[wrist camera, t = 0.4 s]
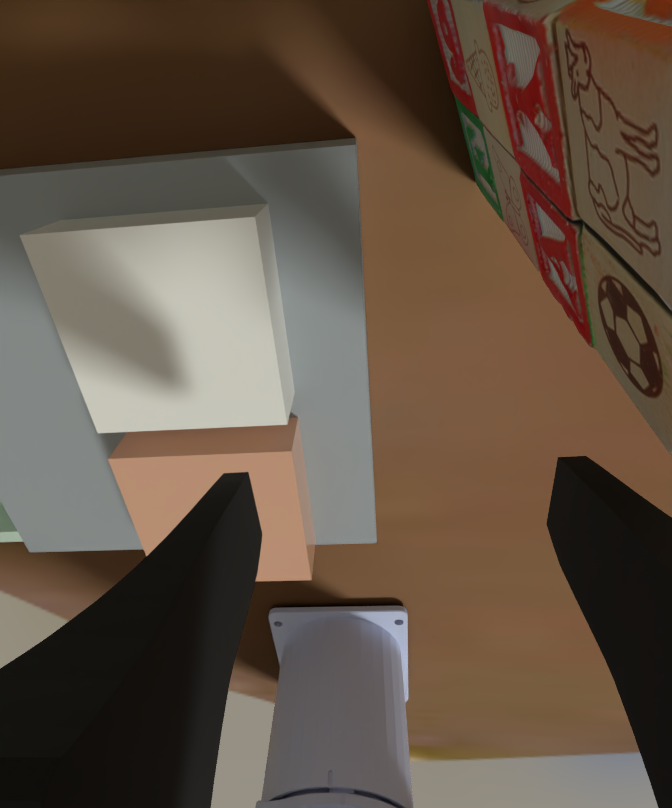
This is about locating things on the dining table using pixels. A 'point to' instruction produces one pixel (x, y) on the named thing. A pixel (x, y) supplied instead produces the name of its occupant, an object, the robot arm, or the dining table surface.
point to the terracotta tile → (202, 466)
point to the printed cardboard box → (579, 162)
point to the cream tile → (169, 317)
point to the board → (303, 313)
